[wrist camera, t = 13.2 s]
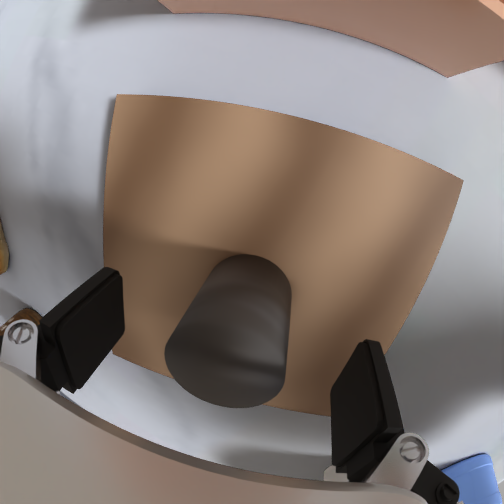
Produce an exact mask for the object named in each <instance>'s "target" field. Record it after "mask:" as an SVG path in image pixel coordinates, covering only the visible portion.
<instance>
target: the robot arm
mask: <svg viewBox="0 0 504 504" xmlns="http://www.w3.org/2000/svg"><path fill="white" fill-rule="evenodd" d="M39 323H40V324H39V325H38V326H37V327H36V325H35V324H34V323H33V322H32V321H29V320H24V319H22V320H17V321H14V322H12V323H11V324H10V325H8V327H7V328H6V330H5V332H4V335H0V504H464V503H463V501H461V502H458V500H459V494H460V492H459V487H458V485H457V483H456V482H455V481H454V480H452V479H451V478H450V477H448V476H447V475H446V474H444V473H443V472H442V471H441V470H439V469H438V468H437V467H435V466H434V465H433V464H432V463H430V462H429V461H428V460H427V459H428V456H429V448H428V445H427V443H426V442H425V440H424V439H423V438H422V437H421V436H419V435H417V434H415V433H404V429H403V424H402V420H401V416H400V411H399V407H398V403H397V399H396V395H395V391H394V388H393V384H392V381H391V377H390V374H389V370H388V367H387V363H386V360H385V356H384V353H383V350H382V347H381V344H380V342H378V341H373V340H368V339H365V340H364V341H363V342H359V343H358V345H357V346H356V348H355V350H354V352H353V353H352V355H351V357H350V358H349V360H348V362H347V363H346V365H345V367H344V368H343V370H342V372H341V373H340V375H339V376H338V378H337V380H336V381H335V383H334V384H333V386H332V388H331V391H330V405H331V434H332V465H333V466H336V473H347V479H348V480H347V481H346V482H334V481H319V480H308V479H298V478H289V477H282V476H275V475H269V474H263V473H257V472H252V471H247V470H242V469H238V468H233V467H229V466H225V465H221V464H217V463H214V462H210V461H206V460H203V459H200V458H196V457H193V456H190V455H187V454H184V453H181V452H178V451H175V450H172V449H169V448H167V447H164V446H161V445H159V444H156V443H153V442H151V441H149V440H146V439H144V438H141V437H139V436H137V435H134V434H132V433H130V432H128V431H126V430H123V429H121V428H119V427H117V426H115V425H113V424H111V423H109V422H107V421H105V420H103V419H101V418H99V417H97V416H95V415H94V414H92V413H90V412H88V411H86V410H85V409H83V408H81V407H79V406H78V405H76V404H74V403H73V402H71V401H69V400H67V399H66V398H64V397H63V396H61V395H60V390H61V388H62V387H63V388H65V389H66V390H68V391H69V392H71V393H73V394H74V392H75V391H76V390H77V389H81V388H82V387H83V386H84V384H85V383H86V382H87V380H88V379H89V378H90V376H91V375H92V374H93V372H94V371H95V370H96V369H97V367H98V366H99V365H100V363H101V362H102V361H103V360H104V358H105V357H106V356H107V354H108V353H109V352H110V351H111V349H112V348H113V347H114V346H115V344H116V343H117V342H118V341H119V339H120V338H121V337H122V336H123V334H124V331H125V318H124V301H123V278H122V276H121V275H120V273H119V271H118V270H115V269H112V268H109V267H104V268H103V269H101V270H100V271H99V272H97V273H96V274H95V275H93V276H92V277H91V278H90V279H88V280H87V281H86V282H85V283H83V284H82V285H81V286H80V287H78V288H77V289H76V290H75V291H73V292H72V293H71V294H70V295H68V296H67V297H66V298H65V299H64V300H62V301H61V302H60V303H59V304H58V305H56V306H55V307H54V308H53V309H52V310H51V311H49V312H48V313H47V314H46V315H45V316H44V317H42V318H41V319H40V320H39Z"/></svg>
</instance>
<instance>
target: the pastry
mask: <svg viewBox="0 0 504 504" xmlns="http://www.w3.org/2000/svg"><path fill="white" fill-rule="evenodd" d="M8 260H9V251H8V246H7V243H6V241H5V237H4V233H3V229H2V224H1V219H0V275H1V274H2V273H4V272H6V271H7V268H8Z"/></svg>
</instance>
